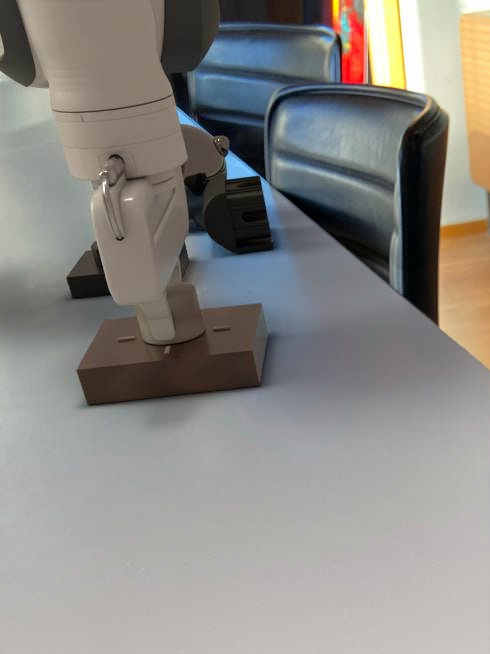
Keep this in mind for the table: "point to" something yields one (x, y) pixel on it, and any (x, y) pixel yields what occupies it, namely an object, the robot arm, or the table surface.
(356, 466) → the table surface
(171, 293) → the dial knob
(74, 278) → the box
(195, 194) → the piggy bank
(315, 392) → the table surface
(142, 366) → the dial panel
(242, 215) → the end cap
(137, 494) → the table surface
